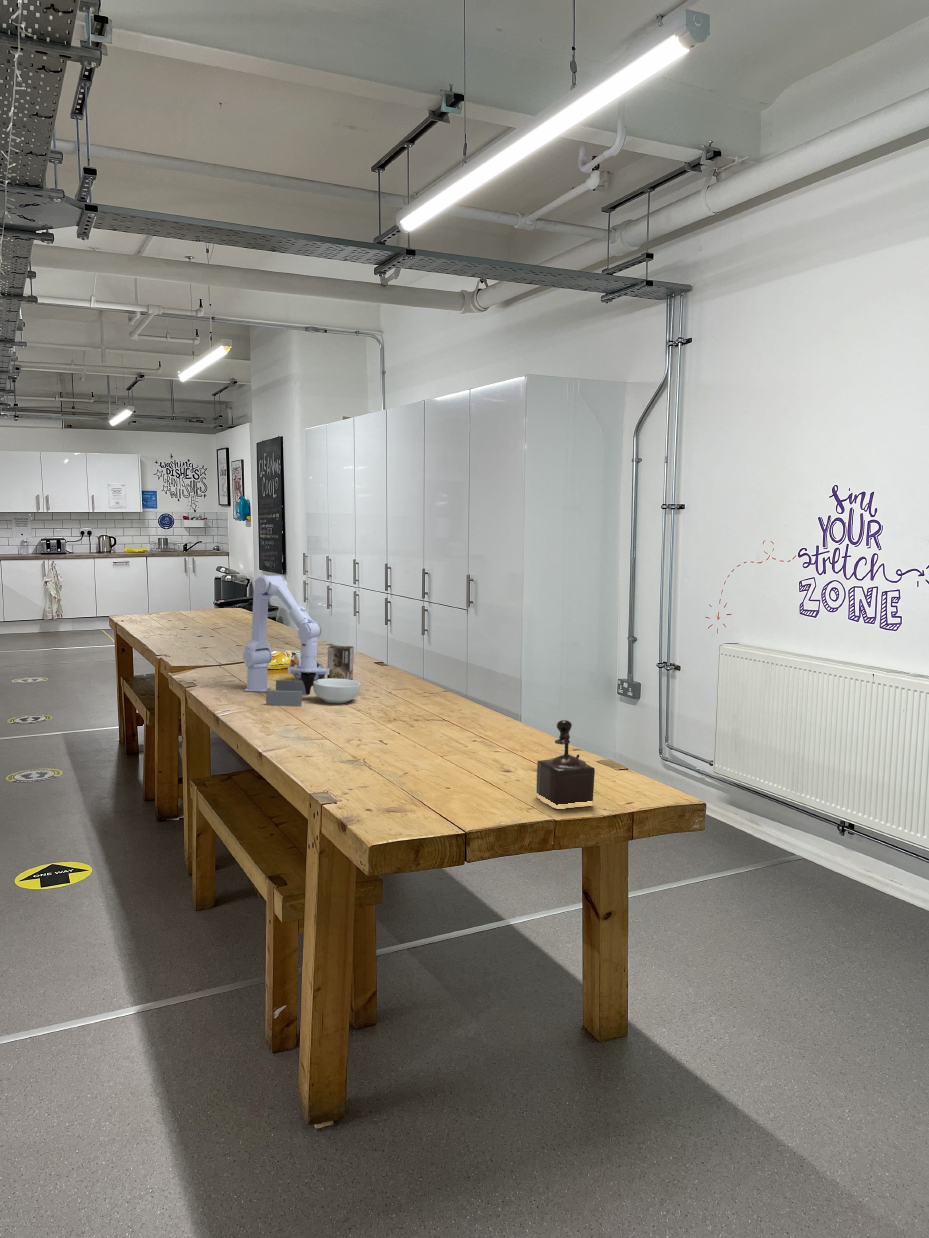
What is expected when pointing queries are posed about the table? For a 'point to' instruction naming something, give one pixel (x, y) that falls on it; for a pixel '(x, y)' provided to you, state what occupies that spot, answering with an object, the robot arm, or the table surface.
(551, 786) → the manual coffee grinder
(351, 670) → the coffee box
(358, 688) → the cereal bowl
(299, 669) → the robot arm
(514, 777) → the table surface
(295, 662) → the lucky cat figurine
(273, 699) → the gray parallel panels
